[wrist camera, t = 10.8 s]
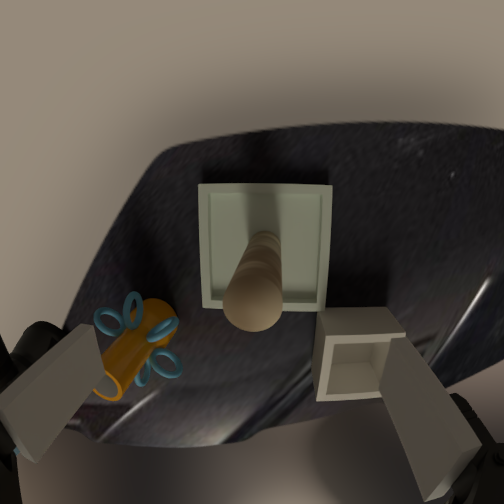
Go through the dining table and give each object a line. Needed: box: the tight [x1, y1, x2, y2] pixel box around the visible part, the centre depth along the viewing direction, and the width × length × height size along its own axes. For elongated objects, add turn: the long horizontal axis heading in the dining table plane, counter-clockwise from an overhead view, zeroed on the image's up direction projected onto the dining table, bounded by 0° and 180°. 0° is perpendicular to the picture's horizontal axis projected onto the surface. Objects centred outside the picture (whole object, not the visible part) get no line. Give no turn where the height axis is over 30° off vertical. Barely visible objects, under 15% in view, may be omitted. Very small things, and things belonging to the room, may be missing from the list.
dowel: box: [223, 231, 283, 332], centre depth 25 cm, size 4×4×16 cm
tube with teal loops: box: [93, 291, 183, 401], centre depth 30 cm, size 12×10×15 cm
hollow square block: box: [311, 307, 406, 401], centre depth 32 cm, size 9×9×7 cm
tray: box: [198, 183, 332, 311], centre depth 33 cm, size 14×14×2 cm
